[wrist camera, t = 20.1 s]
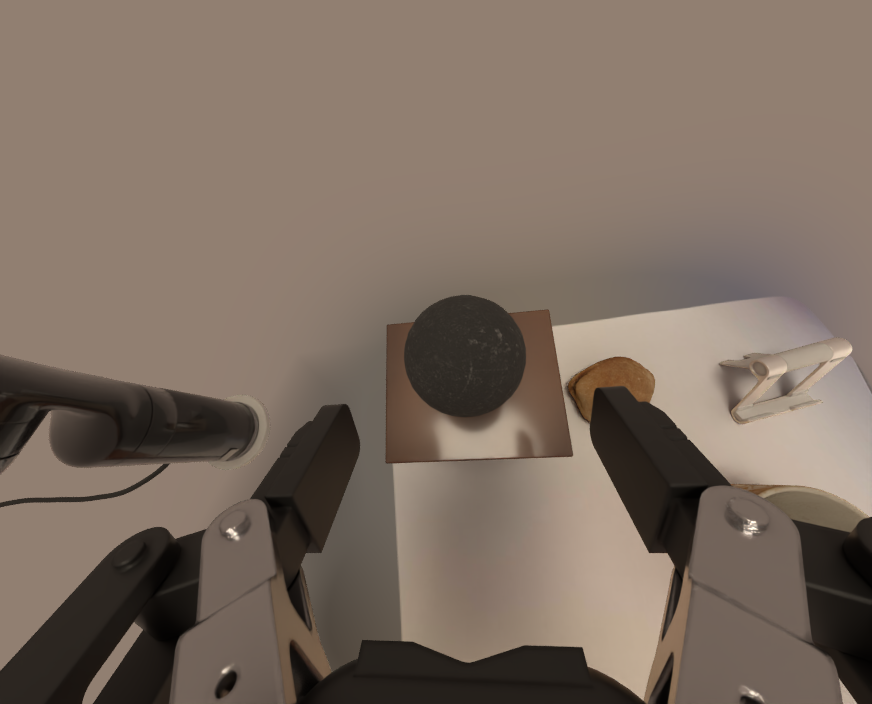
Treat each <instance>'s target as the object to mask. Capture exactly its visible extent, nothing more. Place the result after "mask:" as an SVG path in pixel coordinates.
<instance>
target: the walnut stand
mask: <svg viewBox="0 0 872 704" xmlns="http://www.w3.org/2000/svg"><path fill="white" fill-rule="evenodd" d="M508 314H509V315H510V316H511V317H512V318H513V319H514V321H515V322H516V324H517V325H518V327H519V328H520V330H521V333H522V335H523V339H524V343H525V347H526V365H525V369H524V373H523V377H522V380H521V382H520V384H519V386H518V388H517V389H516V391H515V392H514V394H513V395H512V396H511V397H510V398H509V399H508V400H507V401H506V402H505V403H503V404H502V405H501V406H500V407H498V408H496V409H495V410H493V411H491V412H489V413H486V414H483V415H480V416H473V417H457V416H451V415H448V414H444V413H441V412H439V411H437V410H436V409H434V408H432V407H430V406H429V405H428V404H427V403H426V402H424V401H423V400H422V399H421V398H420V396H419V395H418V394H417V393H416V392H415V390H414V389H413V388H412V385H411V383H410V381H409V378H408V376H407V374H406V369H405V363H404V347H405V342H406V339H407V336H408V332H409V330H410V329H411V327H412V325H413V324H414V322H412V323H401V324H391V325H387V362H386V363H387V364H386V368H387V369H386V463H412V462H439V461H466V460H493V459H520V458H547V457H572V456H573V451H572V445H571V439H570V433H569V427H568V421H567V415H566V409H565V403H564V397H563V391H562V385H561V379H560V373H559V367H558V361H557V355H556V349H555V343H554V337H553V331H552V325H551V320H550V313H549V310H538V311H528V312H517V313H508Z"/></svg>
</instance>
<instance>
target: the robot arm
mask: <svg viewBox="0 0 872 704" xmlns="http://www.w3.org/2000/svg"><path fill="white" fill-rule="evenodd" d="M49 411H51V420H50V428H49V441H50V446H51V449H52V451H53V453H54V455H55V456H56V458H57V459H58V460H59V461H61V462H62V463H64V464H66V465H68V466H72V467H77V468H92V467H112V466H131V465H148V464H163V465H162V466H161V467H160V468H159V469H157V470H156V471H155V472H153V473H152V474H151V475H149V476H148V477H146V478H145V479H143V480H141V481H140V482H138V483H136V484H135V485H133V486H131V487H129V488H127V489H124V490H121V491H118V492H114V493H109V494H102V495H96V496H89V497H56V498H25V499H17V500H12V501H6V502H2V503H0V507H4V506H9V505H13V504H20V503H30V502H84V501H93V500H100V499H107V498H112V497H117V496H121V495H124V494H126V493H128V492H131V491H133V490H135V489H136V488H138V487H140V486H141V485H143V484H145V483H147V482H148V481H150V480H151V479H152V478H154V477H155V476H157V475H158V474H159V473H161V472H162V471H163V470H164V469H165V468H166V467H167V466H168V465H169V464H170V463H187V462H209V461H233V460H236V459H238V458H240V457H242V456H243V455H245V454H246V453H247V452H248V451H249V450H250V449H251V447H252V446H253V444H254V442H255V440H256V438H257V435H258V431H259V420H258V416H257V414H256V412H255V410H254V409H253V408H252V407H251V406H249V405H248V404H245V403H241V402H232V401H227V400H221V399H216V398H211V397H206V396H201V395H195V394H190V393H184V392H179V391H173V390H168V389H163V388H156V387H150V386H146V385H140V384H135V383H129V382H123V381H118V380H113V379H109V378H104V377H99V376H95V375H89V374H85V373H79V372H74V371H69V370H64V369H60V368H55V367H50V366H46V365H42V364H37V363H33V362H29V361H24V360H21V359H16V358H12V357H8V356H4V355H0V474H2V473H3V472H4V471H5V470H6V469H7V468H8V467H9V466H10V465H11V464H12V463H13V462H14V460H15V459H16V458H17V456H18V455H19V453H20V452H21V450H22V449H23V448H24V446H25V445H26V443H27V442H28V440H29V439H30V438H31V436H32V435H33V434H34V432H35V430H36V429H37V428H38V426H39V425H40V423H41V422H42V421H43V419H44V418H45V416H46V415H47V414H48V412H49ZM590 435H591V440H592V443H593V446H594V448H595V450H596V452H597V454H598V455H599V457H600V459H601V461H602V463H603V465H604V467H605V469H606V471H607V473H608V475H609V477H610V479H611V480H612V482H613V484H614V486H615V488H616V490H617V492H618V494H619V496H620V498H621V500H622V502H623V504H624V505H625V507H626V509H627V511H628V513H629V515H630V517H631V519H632V521H633V523H634V525H635V527H636V528H637V530H638V532H639V534H640V536H641V538H642V540H643V542H644V544H645V546H646V548H647V550H648V552H649V553H668V555H669V556H670V558H671V560H672V562H673V563H674V568H673V570H672V574H671V579H670V585H669V590H668V595H667V600H666V605H665V610H664V615H663V620H662V625H661V630H660V635H659V640H658V645H657V649H656V654H655V657H654V661H653V664H652V668H651V671H650V675H649V679H648V683H647V687H646V692H645V696H644V701H643V700H642V699H640V698H639V697H638V696H637V695H636V694H634V693H633V692H632V691H631V690H629V689H628V688H626V687H625V686H623V685H622V684H620V683H619V682H617V681H616V680H614V679H613V678H611V677H609V676H607V675H605V674H603V673H601V672H599V671H597V670H595V669H592V668H590V667H587V663H586V659H585V656H584V652H583V648H582V647H557V646H526V645H524V646H521V647H518V648H515V649H512V650H509V651H506V652H503V653H500V654H497V655H494V656H490V657H487V658H484V659H481V660H478V661H475V662H471V663H465V662H462V661H459V660H457V659H454V658H452V657H449V656H447V655H444V654H442V653H439V652H437V651H434V650H432V649H429V648H427V647H424V646H422V645H419V644H417V643H414V642H404V641H372V640H362V643H361V648H360V652H359V657H358V659H356V660H353V661H351V662H349V663H347V664H345V665H343V666H341V667H339V668H338V669H336V670H335V671H333V672H332V671H331V668H330V665H329V662H328V659H327V657H326V654H325V652H324V649H323V647H322V644H321V642H320V638H319V635H318V631H317V627H316V623H315V618H314V614H313V610H312V605H311V601H310V597H309V593H308V588H307V584H306V580H305V576H304V571H303V568H302V566H301V563H302V561H303V558H304V556H305V554H306V553H321V552H322V550H323V547H324V545H325V542H326V539H327V537H328V534H329V532H330V529H331V526H332V523H333V521H334V518H335V516H336V513H337V511H338V508H339V505H340V503H341V500H342V497H343V495H344V493H345V490H346V487H347V485H348V482H349V480H350V477H351V474H352V472H353V469H354V467H355V464H356V461H357V459H358V456H359V452H360V440H359V436H358V433H357V430H356V427H355V424H354V421H353V418H352V415H351V412H350V409H349V407H348V405H346V404H341V405H340V404H339V405H325V406H323V407H322V408H321V409H320V410H319V412H318V414H317V415H316V417H315V418H314V420H313V421H309V422H307V423H306V424H305V425H304V426H303V427H302V428H300V429H299V430H298V431H297V432H296V433H295V434H294V436H293V437H292V438H291V440H290V441H289V443H288V444H287V447H285V449H284V450H283V452H282V453H281V455H280V458H278V459H277V461H276V462H275V463H274V465H273V466H272V468H271V469H270V471H269V472H268V474H267V475H266V476H265V478H264V479H263V481H262V482H261V484H260V485H259V487H258V488H257V490H256V491H255V493H254V494H253V495H252V497H251V498H250V499H249V500H244V501H242V502H239V503H237V504H234V505H233V506H231V507H229V508H228V509H226V510H225V511H223V512H222V513H221V514H220V515H219V516H218V517H216V518H215V520H213V522H212V523H211V524H210V525H209V527H208V528H207V529H205V530H202V531H199V532H196V533H193V534H189V535H186V536H183V537H180V538H177V539H175V538H174V537H173V536H172V535H171V534H170V532H169V531H168V530H167V529H165V528H162V527H154V528H150V529H147V530H144V531H142V532H139V533H137V534H135V535H134V536H132V537H130V538H129V539H127V540H125V541H124V542H123V543H121V544H120V545H118V546H117V547H116V548H115V549H114V550H112V552H110V553H109V554H108V555H107V556H106V557H105V558H104V559H103V560H102V561H101V562H100V564H99V565H98V566H97V567H96V568H95V569H94V570H93V571H92V572H91V573H90V574H89V575H88V577H87V578H86V579H85V580H84V581H83V582H82V583H81V584H80V585H79V586H78V588H76V590H75V591H74V592H73V593H72V594H71V595H70V596H69V597H68V598H67V599H66V600H65V602H64V603H63V604H62V605H61V606H60V607H59V608H58V609H57V610H56V611H55V612H54V613H53V615H52V616H51V617H50V618H49V619H48V620H47V621H46V622H45V623H44V624H43V625H42V627H41V628H40V629H39V630H38V631H37V632H36V633H35V634H34V635H33V636H32V637H31V639H30V640H29V641H28V642H27V643H26V644H25V645H24V646H23V647H22V648H21V649H20V650H19V652H18V653H17V654H16V655H15V656H14V657H13V658H12V659H11V660H10V661H9V662H8V663H7V664H6V666H5V667H4V668H3V669H2V670H1V671H0V704H82V701H83V697H84V695H85V692H86V690H87V688H88V686H89V684H90V682H91V681H92V679H93V678H94V677H95V675H96V673H97V672H98V671H99V670H100V668H101V667H102V665H103V664H104V662H105V661H106V660H107V658H108V657H109V656H110V654H111V653H112V651H113V650H114V649H115V647H116V646H117V644H118V643H119V642H120V640H121V639H122V637H123V636H124V635H125V633H126V632H127V630H128V629H129V628H130V626H131V625H132V623H133V622H135V623H136V624H137V625H138V626H140V627H141V628H142V629H143V631H142V633H141V634H140V635H139V637H138V638H137V640H136V641H135V643H134V644H133V646H132V647H131V649H130V650H129V652H128V653H127V654H126V656H125V657H124V659H123V661H122V662H121V663H120V665H119V666H118V668H117V669H116V671H115V672H114V674H113V675H112V676H111V678H110V680H109V681H108V682H107V684H106V685H105V687H104V688H103V690H102V691H101V693H100V694H99V696H98V697H97V699H96V700H95V702H94V703H93V704H843V702H842V695H841V689H840V683H839V679H840V680H841V682H842V683H843V684H844V686H845V687H846V688H847V690H848V691H849V693H850V694H851V695H852V697H853V698H854V699H855V701H856V702H857V704H872V517H869V518H864V519H862V520H861V521H859V523H858V524H857V525H856V527H855V528H854V529H853V530H852V532H847V531H842V530H838V529H833V528H829V527H824V526H819V525H815V524H810V523H806V522H801V521H797V520H793V519H790V518H789V517H788V516H787V515H786V514H785V513H784V512H783V511H782V510H781V509H779V508H778V507H777V506H775V505H774V504H772V503H771V502H769V501H768V500H766V499H764V498H762V497H760V496H758V495H756V494H754V493H752V492H749V491H747V490H743V489H740V488H736V487H733V486H732V485H731V484H730V483H729V482H728V481H727V480H726V479H725V478H724V477H723V476H722V475H721V473H720V472H719V471H718V470H717V469H716V468H715V467H714V466H713V465H712V464H711V463H710V461H709V460H708V459H707V458H706V457H705V456H704V455H703V454H702V453H701V452H700V451H699V450H698V448H697V447H696V446H695V445H694V444H693V443H692V442H691V441H690V440H687V436H686V435H685V434H684V433H683V432H682V431H681V430H680V429H679V428H677V427H676V425H675V423H674V422H673V421H672V420H671V419H670V418H669V417H668V416H667V415H666V414H665V413H664V412H663V411H661V410H660V409H658V408H656V407H655V406H653V405H651V404H650V403H648V402H646V401H643V402H638V401H637V399H636V398H635V397H634V396H633V395H632V393H631V392H630V391H629V390H628V389H627V388H626V387H625V386H613V387H598V388H596V389H595V391H594V397H593V405H592V413H591V422H590ZM814 644H815V645H814Z"/></svg>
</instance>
